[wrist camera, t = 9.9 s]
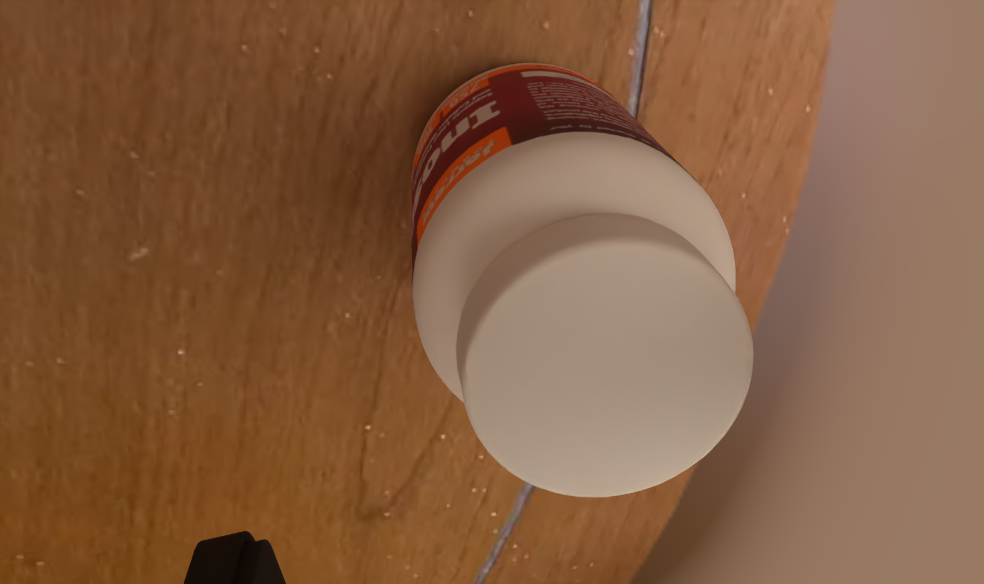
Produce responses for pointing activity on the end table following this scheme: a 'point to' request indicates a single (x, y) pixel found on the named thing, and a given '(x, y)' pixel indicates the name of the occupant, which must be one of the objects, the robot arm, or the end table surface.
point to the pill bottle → (573, 285)
